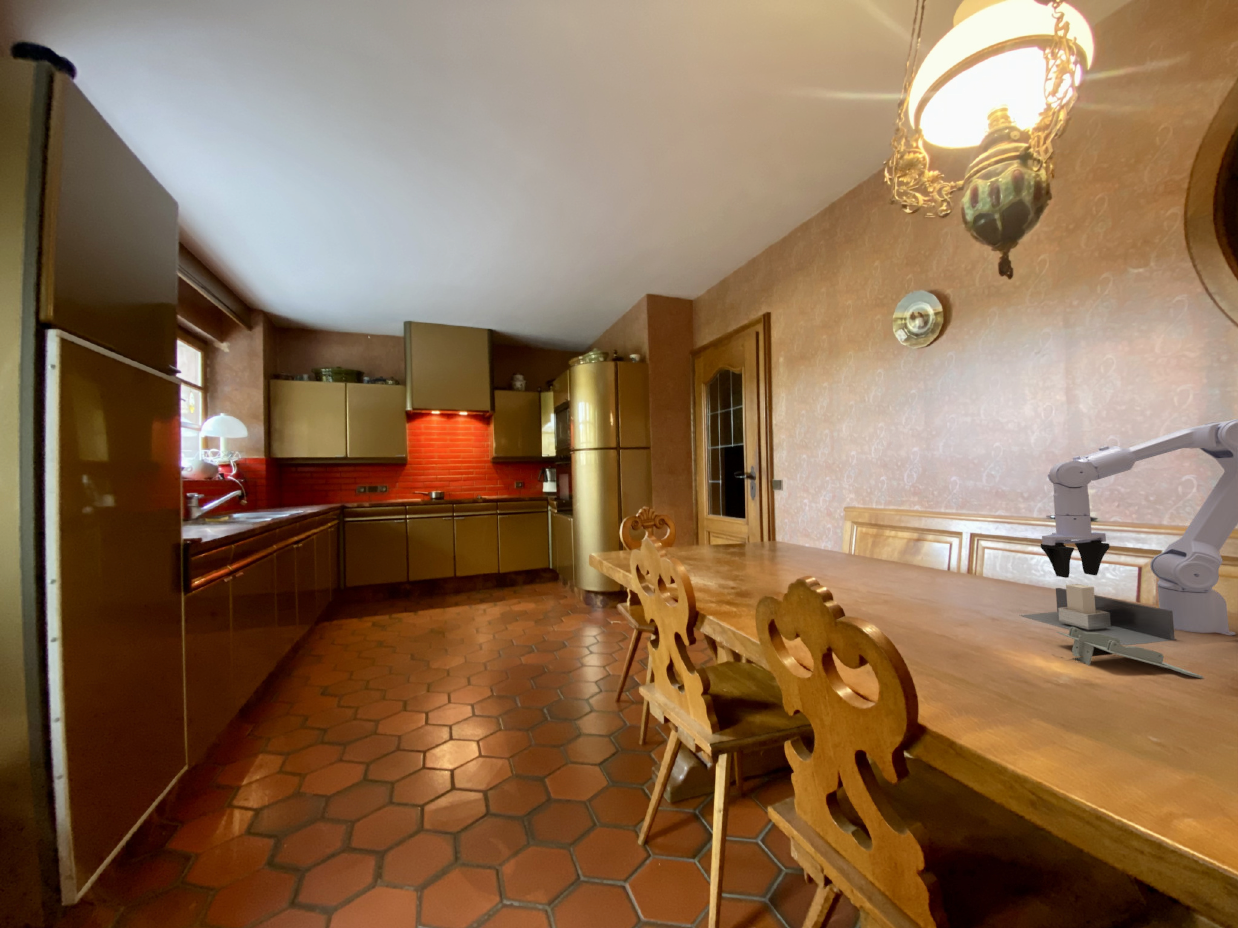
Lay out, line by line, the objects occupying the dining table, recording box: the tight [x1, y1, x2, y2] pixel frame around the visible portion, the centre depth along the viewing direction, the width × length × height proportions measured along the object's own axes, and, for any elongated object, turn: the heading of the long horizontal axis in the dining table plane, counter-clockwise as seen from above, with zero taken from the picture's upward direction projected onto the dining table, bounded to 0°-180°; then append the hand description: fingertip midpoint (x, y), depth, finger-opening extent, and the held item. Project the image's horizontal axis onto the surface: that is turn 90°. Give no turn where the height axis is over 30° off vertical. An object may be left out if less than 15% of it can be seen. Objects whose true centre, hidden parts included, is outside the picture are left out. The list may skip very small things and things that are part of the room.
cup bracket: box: [1055, 587, 1176, 641], centre depth 98 cm, size 10×20×6 cm, turn 9°
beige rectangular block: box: [1065, 583, 1096, 614], centre depth 98 cm, size 3×3×8 cm
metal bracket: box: [1056, 627, 1205, 680], centre depth 83 cm, size 14×6×15 cm
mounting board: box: [1019, 611, 1177, 646], centre depth 98 cm, size 12×20×1 cm, turn 9°
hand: (1076, 575), depth 104 cm, fingers open, 7 cm apart
